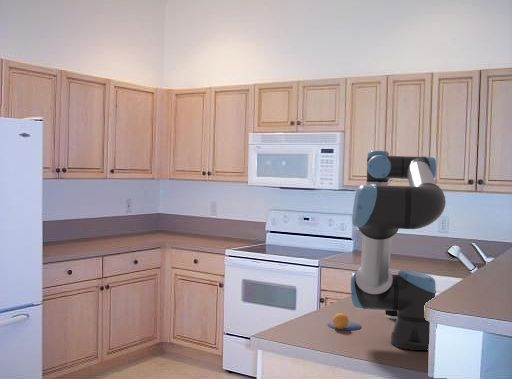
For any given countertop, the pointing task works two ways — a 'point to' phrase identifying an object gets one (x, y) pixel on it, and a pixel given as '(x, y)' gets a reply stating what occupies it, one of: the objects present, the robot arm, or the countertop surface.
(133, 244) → the countertop surface
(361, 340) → the countertop surface
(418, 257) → the countertop surface
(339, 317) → the ball
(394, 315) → the dixie cup
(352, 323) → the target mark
